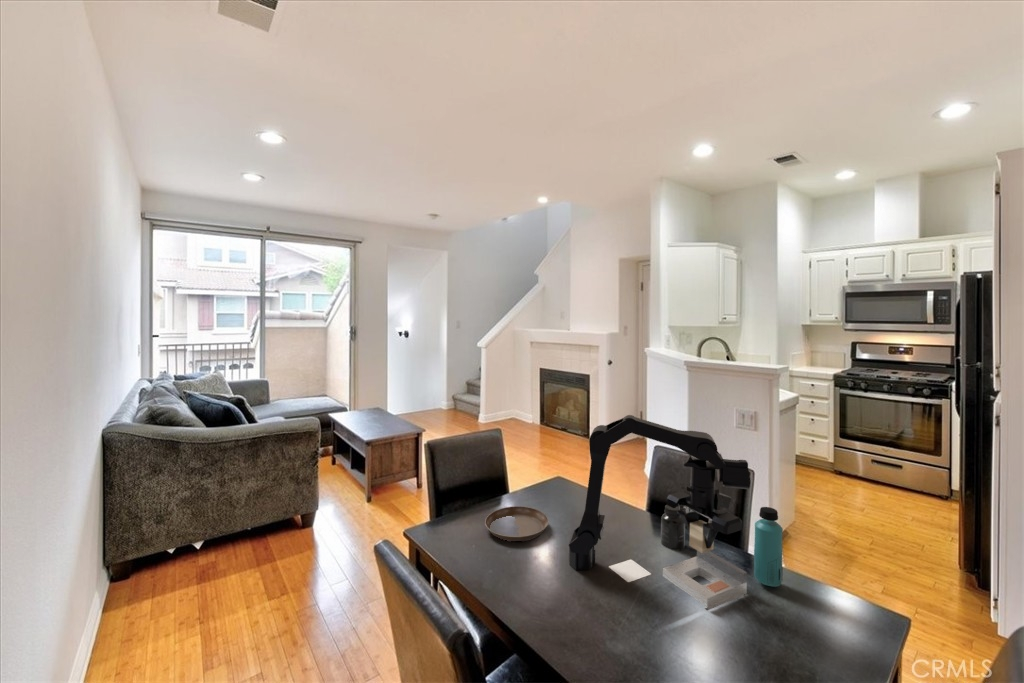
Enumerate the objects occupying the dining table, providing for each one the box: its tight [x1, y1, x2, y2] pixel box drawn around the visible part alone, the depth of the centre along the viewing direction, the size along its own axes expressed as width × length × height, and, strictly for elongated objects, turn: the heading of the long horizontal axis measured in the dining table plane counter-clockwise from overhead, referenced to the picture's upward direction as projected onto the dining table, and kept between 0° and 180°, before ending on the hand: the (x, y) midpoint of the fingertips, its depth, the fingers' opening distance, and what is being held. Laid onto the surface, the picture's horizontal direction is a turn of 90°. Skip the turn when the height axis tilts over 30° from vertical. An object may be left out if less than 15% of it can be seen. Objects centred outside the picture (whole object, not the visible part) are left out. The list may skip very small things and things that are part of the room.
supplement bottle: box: [660, 504, 686, 551], centre depth 133 cm, size 7×7×12 cm
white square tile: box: [608, 559, 652, 583], centre depth 119 cm, size 8×8×1 cm
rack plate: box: [662, 550, 748, 611], centre depth 113 cm, size 14×14×6 cm
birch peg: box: [688, 519, 715, 553], centre depth 112 cm, size 4×4×6 cm
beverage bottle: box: [752, 506, 784, 587], centre depth 113 cm, size 6×7×20 cm
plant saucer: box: [484, 505, 549, 542], centre depth 144 cm, size 21×21×3 cm
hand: (701, 543), depth 112 cm, fingers closed on birch peg, 4 cm apart
